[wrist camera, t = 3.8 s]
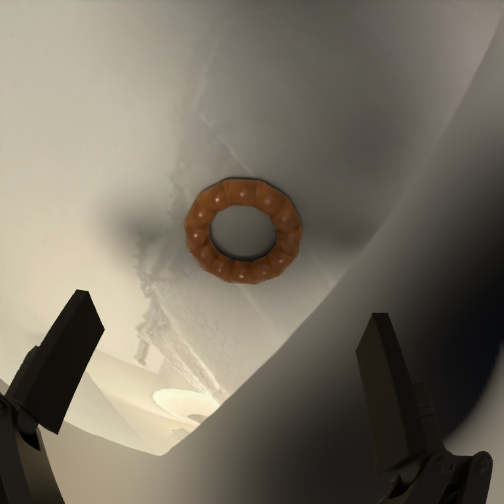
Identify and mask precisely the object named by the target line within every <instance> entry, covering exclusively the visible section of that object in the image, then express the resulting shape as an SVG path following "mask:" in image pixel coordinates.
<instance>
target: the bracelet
mask: <svg viewBox="0 0 504 504" xmlns="http://www.w3.org/2000/svg"><path fill="white" fill-rule="evenodd" d="M232 205H236V206H253V207H255V208H256V209H258V210H260V211H261V212H263V213H265V214H266V215H268V216H270V218H271V220H272V222H273V224H274V225H275V227H276V229H277V239H276V245H275V246H274V247H273V249H272V250H271V251H270V252H269V254H268V255H267V256H264V257H262V258H259V259H257V260H254V261H252V262H251V261H236V260H232V259H230V258H229V257H227V256H225V255H223V254H221V253H219V252H218V250H217V249H216V247H215V246H214V245H213V243H212V242H211V240H210V232H209V225H210V223H211V222H212V220H213V218H214V217H215V215H216V214H217V213H218V212H220V211H222V210H224V209H226V208H228V207H230V206H232ZM302 230H303V226H302V223H301V220H300V218H299V216H298V214H297V212H296V210H295V208H294V206H293V204H292V202H291V201H290V199H289V198H288V197H287V196H285V195H284V194H282V193H281V192H279V191H277V190H276V189H274V188H273V187H271V186H269V185H268V184H266V183H265V182H263V181H260V180H245V179H226V180H224V181H222V182H220V183H218V184H216V185H214V186H212V187H210V188H208V189H207V190H205V191H203V192H201V193H200V194H199V195H198V196H197V198H196V199H195V201H194V203H193V205H192V207H191V208H190V210H189V212H188V214H187V216H186V218H185V233H186V243H187V248H188V250H189V251H190V253H191V254H192V255H193V257H194V258H195V259H196V261H197V262H198V263H199V265H200V266H201V267H202V269H203V270H205V271H206V272H208V273H210V274H212V275H214V276H216V277H218V278H220V279H222V280H224V281H226V282H229V283H241V284H258V283H261V282H263V281H266V280H269V279H271V278H274V277H277V276H279V275H281V274H282V273H283V272H284V271H285V270H286V269H287V267H288V266H289V265H290V264H291V263H292V262H293V261H294V259H295V258H296V257H297V256H298V254H299V251H300V244H301V237H302Z"/></svg>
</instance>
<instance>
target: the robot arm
mask: <svg viewBox="0 0 504 504" xmlns="http://www.w3.org/2000/svg"><path fill="white" fill-rule="evenodd" d="M104 330H105V329H104V327H103V325H102V322H101V320H100V318H99V316H98V313H97V311H96V309H95V306H94V304H93V301H92V299H91V296H90V294H89V291H84V290H76V291H75V293H74V294H73V295H72V297H71V298H70V300H69V301H68V303H67V304H66V306H65V307H64V309H63V310H62V312H61V313H60V315H59V316H58V318H57V319H56V321H55V322H54V324H53V325H52V327H51V329H50V330H49V332H48V333H47V335H46V337H45V338H44V340H43V341H42V343H41V345H40V346H39V347H38V346H35V347H34V348H33V349H31V350H30V351H29V352H28V354H27V356H26V357H25V359H24V361H23V363H22V364H21V366H20V370H18V371H17V373H16V375H15V377H14V379H13V381H12V383H11V385H10V387H9V389H8V391H7V392H6V394H5V395H4V396H3V395H2V394H1V393H0V504H65V502H64V500H63V498H62V496H61V493H60V490H59V488H58V486H57V483H56V480H55V478H54V475H53V472H52V469H51V466H50V463H49V460H48V457H47V454H46V451H45V447H44V444H43V440H42V436H41V432H40V430H39V428H38V424H40V425H41V426H43V427H44V428H45V429H47V430H49V431H51V432H53V433H55V434H57V435H58V432H59V430H60V427H61V425H62V422H63V420H64V417H65V415H66V412H67V410H68V407H69V405H70V403H71V400H72V398H73V396H74V393H75V391H76V389H77V386H78V384H79V382H80V380H81V377H82V375H83V373H84V371H85V369H86V367H87V365H88V362H89V360H90V358H91V356H92V354H93V352H94V350H95V348H96V346H97V344H98V342H99V340H100V338H101V336H102V334H103V332H104ZM356 355H357V360H358V365H359V370H360V375H361V379H362V385H363V390H364V396H365V401H366V407H367V412H368V419H369V425H370V431H371V438H372V445H373V453H374V462H375V470H376V475H381V474H386V473H391V472H394V471H396V470H397V469H399V468H400V474H398V475H396V476H394V477H392V479H391V480H390V481H391V482H392V481H394V480H395V482H394V483H393V485H392V486H391V488H390V490H389V491H388V492H387V494H386V495H385V497H384V498H383V500H382V501H381V502H380V504H486V499H487V495H488V490H489V485H490V480H491V474H492V467H493V460H492V457H491V456H490V455H489V453H488V452H485V451H481V452H478V453H477V454H475V455H473V456H456V455H453V454H452V453H450V452H449V451H447V450H446V449H445V447H444V444H443V441H442V437H441V433H440V429H439V425H438V421H437V417H436V414H435V410H434V406H433V405H432V399H431V396H430V393H429V391H428V390H427V388H426V387H425V386H424V384H423V383H422V382H421V383H414V384H411V380H410V377H409V374H408V370H407V367H406V364H405V361H404V358H403V355H402V352H401V349H400V346H399V343H398V340H397V337H396V334H395V332H394V329H393V326H392V323H391V320H390V318H389V315H388V313H372V316H371V318H370V320H369V323H368V325H367V327H366V329H365V332H364V334H363V336H362V338H361V341H360V343H359V345H358V347H357V349H356Z"/></svg>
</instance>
